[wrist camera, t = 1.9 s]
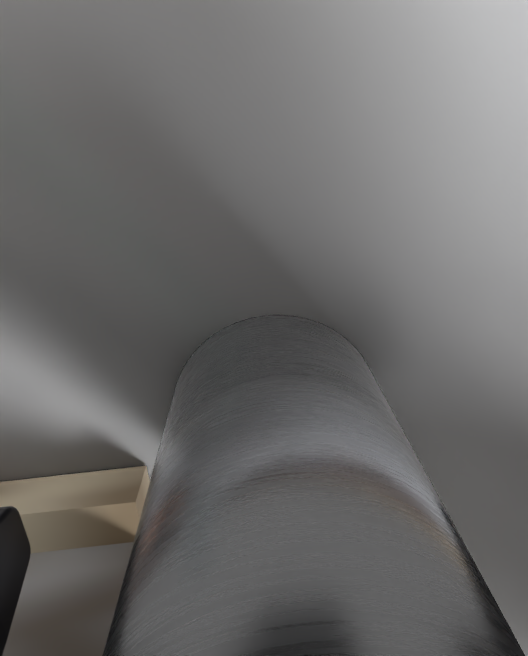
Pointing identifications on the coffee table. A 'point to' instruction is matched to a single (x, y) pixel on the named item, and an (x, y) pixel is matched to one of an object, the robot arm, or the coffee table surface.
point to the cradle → (73, 557)
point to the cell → (295, 516)
